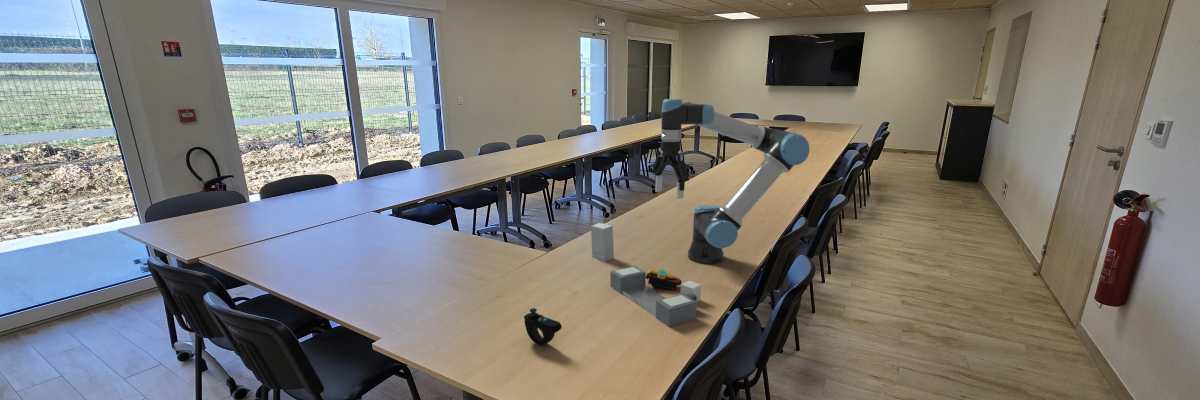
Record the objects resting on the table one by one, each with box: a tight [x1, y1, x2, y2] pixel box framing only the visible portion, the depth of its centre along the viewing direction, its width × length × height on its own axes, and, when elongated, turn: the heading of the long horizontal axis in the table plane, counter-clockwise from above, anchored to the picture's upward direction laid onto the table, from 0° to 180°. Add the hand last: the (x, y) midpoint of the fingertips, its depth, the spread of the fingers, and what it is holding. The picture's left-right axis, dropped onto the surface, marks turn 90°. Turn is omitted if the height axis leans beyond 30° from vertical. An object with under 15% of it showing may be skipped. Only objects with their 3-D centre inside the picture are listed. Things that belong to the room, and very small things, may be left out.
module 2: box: [655, 293, 698, 328], centre depth 163 cm, size 11×7×6 cm, turn 119°
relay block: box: [679, 280, 702, 303], centre depth 177 cm, size 5×5×6 cm
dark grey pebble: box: [686, 294, 698, 303], centre depth 169 cm, size 4×4×5 cm
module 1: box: [609, 265, 647, 294], centre depth 188 cm, size 11×7×6 cm, turn 119°
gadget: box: [645, 268, 683, 290], centre depth 188 cm, size 6×13×6 cm, turn 79°
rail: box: [620, 284, 666, 318], centre depth 176 cm, size 10×32×1 cm, turn 29°
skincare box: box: [590, 222, 615, 262], centre depth 217 cm, size 8×6×15 cm
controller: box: [523, 307, 563, 346], centre depth 147 cm, size 4×12×10 cm, turn 57°
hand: (669, 195), depth 196 cm, fingers open, 13 cm apart
